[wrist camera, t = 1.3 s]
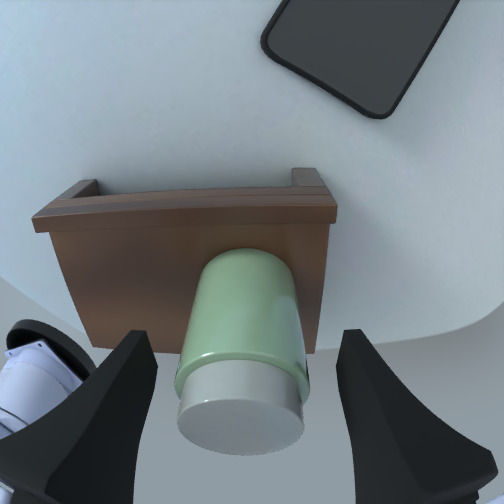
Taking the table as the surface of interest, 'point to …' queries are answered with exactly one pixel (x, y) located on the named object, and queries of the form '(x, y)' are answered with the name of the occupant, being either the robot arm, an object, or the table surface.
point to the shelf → (181, 250)
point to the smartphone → (357, 46)
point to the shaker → (243, 357)
